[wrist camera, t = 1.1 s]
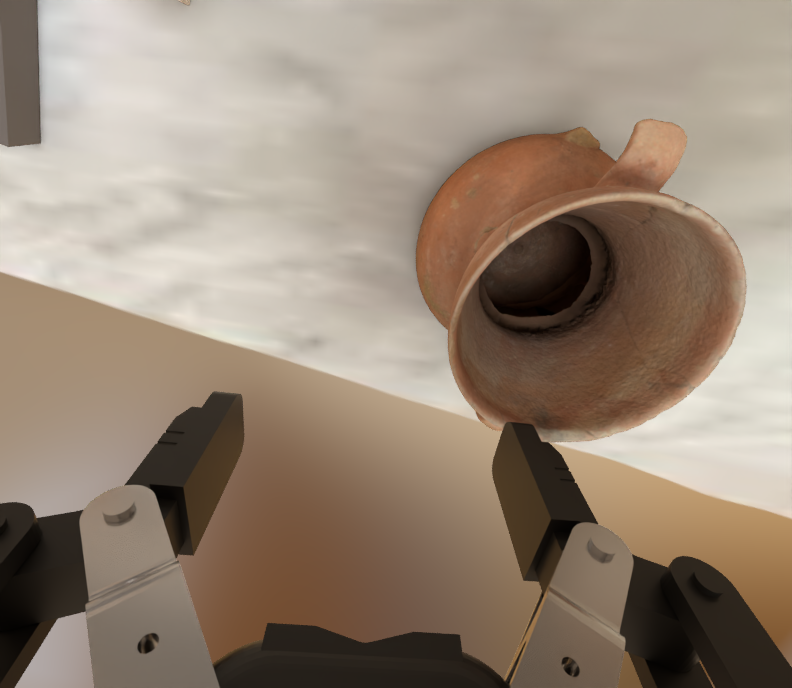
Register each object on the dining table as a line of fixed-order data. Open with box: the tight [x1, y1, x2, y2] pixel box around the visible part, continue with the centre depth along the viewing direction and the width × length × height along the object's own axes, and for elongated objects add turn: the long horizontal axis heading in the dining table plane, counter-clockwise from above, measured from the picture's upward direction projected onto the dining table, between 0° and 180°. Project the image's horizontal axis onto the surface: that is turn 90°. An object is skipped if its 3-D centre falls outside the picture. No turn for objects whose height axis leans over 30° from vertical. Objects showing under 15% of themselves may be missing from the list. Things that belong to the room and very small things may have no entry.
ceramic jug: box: [416, 119, 746, 442], centre depth 24 cm, size 18×14×14 cm
